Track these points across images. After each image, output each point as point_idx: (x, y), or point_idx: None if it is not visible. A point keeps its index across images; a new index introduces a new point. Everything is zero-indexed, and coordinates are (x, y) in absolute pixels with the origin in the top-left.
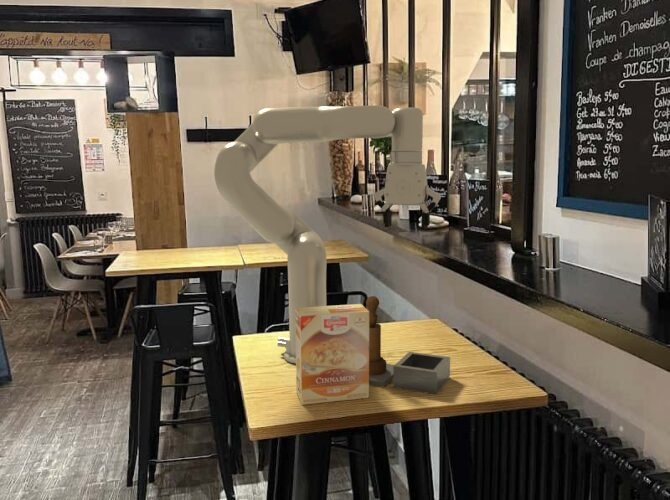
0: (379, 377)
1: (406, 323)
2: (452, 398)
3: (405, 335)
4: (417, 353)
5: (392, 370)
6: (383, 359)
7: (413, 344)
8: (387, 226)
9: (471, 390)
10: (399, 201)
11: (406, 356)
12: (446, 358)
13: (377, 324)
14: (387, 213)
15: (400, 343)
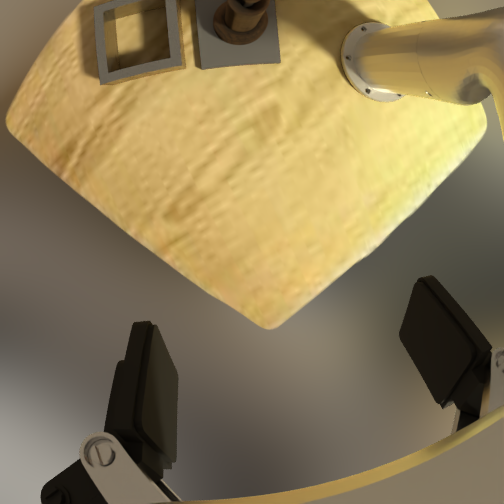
0: (212, 2)
1: (300, 297)
2: (82, 19)
3: (278, 243)
4: (162, 64)
5: (206, 39)
6: (220, 25)
7: (244, 206)
8: (417, 281)
9: (68, 62)
10: (434, 486)
11: (174, 38)
12: (103, 74)
13: (243, 13)
14: (469, 346)
15: (268, 199)
